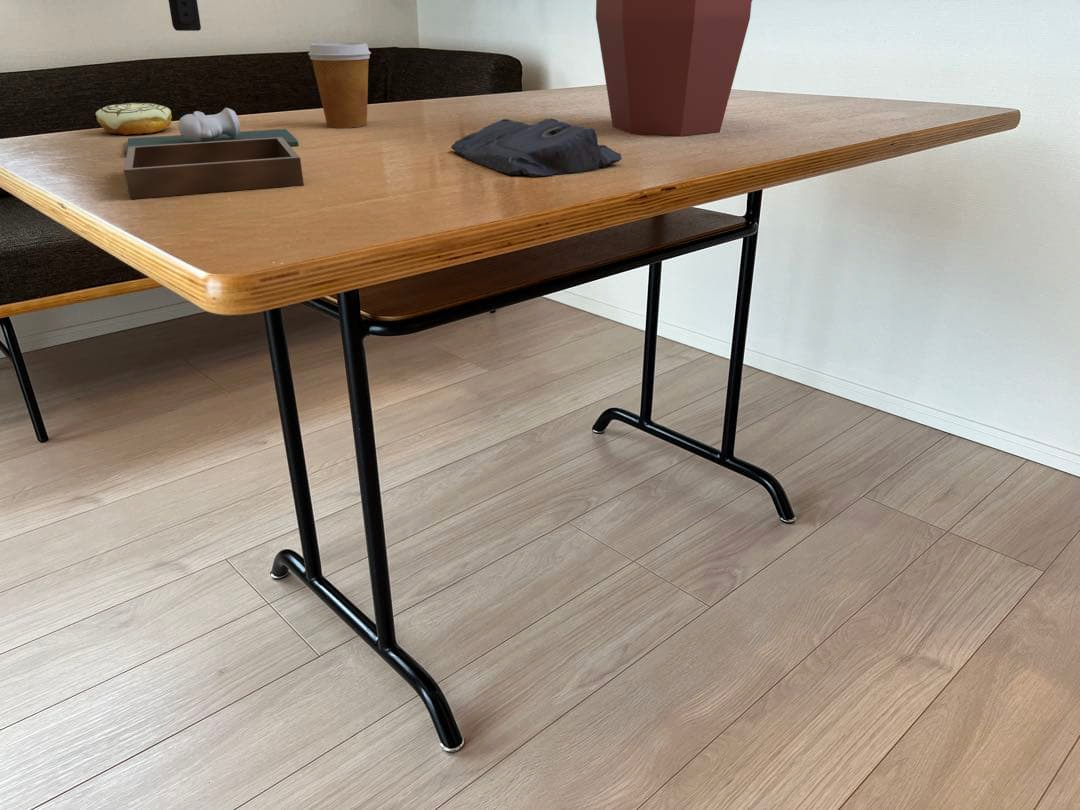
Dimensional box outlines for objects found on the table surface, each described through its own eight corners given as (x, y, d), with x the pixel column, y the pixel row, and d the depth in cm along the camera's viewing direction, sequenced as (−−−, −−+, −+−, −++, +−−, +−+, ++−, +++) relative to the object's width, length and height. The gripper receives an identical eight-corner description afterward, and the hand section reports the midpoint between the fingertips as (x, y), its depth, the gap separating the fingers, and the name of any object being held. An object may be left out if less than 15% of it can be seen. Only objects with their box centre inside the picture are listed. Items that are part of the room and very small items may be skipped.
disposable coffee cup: (361, 119, 139) (353, 41, 134) (387, 125, 133) (380, 44, 127) (307, 124, 134) (297, 43, 129) (331, 131, 127) (322, 46, 122)
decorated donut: (109, 138, 122) (102, 111, 120) (94, 130, 130) (88, 104, 128) (182, 131, 128) (177, 105, 126) (163, 123, 135) (158, 99, 134)
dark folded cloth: (543, 141, 118) (543, 106, 116) (630, 167, 100) (632, 126, 98) (443, 151, 111) (441, 113, 109) (518, 179, 94) (518, 136, 92)
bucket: (775, 128, 128) (796, -58, 116) (686, 145, 114) (700, -63, 103) (651, 114, 144) (660, -51, 132) (560, 127, 130) (561, -55, 119)
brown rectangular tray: (130, 199, 86) (123, 169, 85) (133, 172, 99) (128, 146, 97) (303, 185, 92) (300, 157, 91) (285, 161, 105) (282, 136, 103)
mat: (126, 157, 108) (124, 152, 108) (128, 142, 119) (127, 138, 119) (298, 145, 116) (298, 141, 115) (286, 132, 126) (286, 128, 126)
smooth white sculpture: (183, 153, 114) (180, 136, 117) (244, 147, 116) (239, 131, 120) (177, 123, 111) (174, 106, 114) (239, 118, 113) (234, 102, 117)
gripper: (131, -118, 108) (155, 27, 115) (126, -136, 93) (155, 31, 101) (192, -114, 110) (213, 27, 118) (198, -131, 96) (221, 31, 103)
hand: (186, 29), depth 109 cm, fingers open, 9 cm apart
